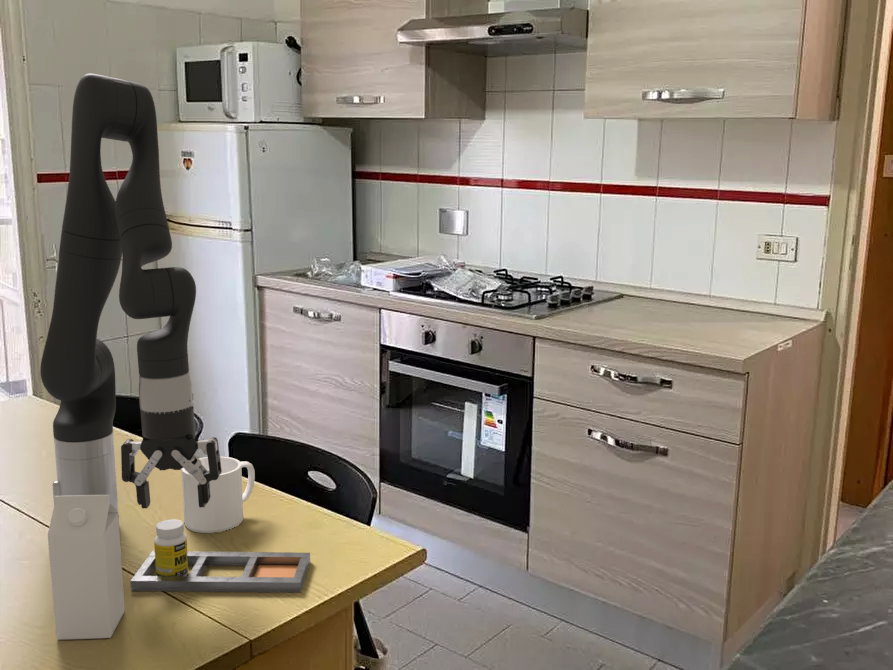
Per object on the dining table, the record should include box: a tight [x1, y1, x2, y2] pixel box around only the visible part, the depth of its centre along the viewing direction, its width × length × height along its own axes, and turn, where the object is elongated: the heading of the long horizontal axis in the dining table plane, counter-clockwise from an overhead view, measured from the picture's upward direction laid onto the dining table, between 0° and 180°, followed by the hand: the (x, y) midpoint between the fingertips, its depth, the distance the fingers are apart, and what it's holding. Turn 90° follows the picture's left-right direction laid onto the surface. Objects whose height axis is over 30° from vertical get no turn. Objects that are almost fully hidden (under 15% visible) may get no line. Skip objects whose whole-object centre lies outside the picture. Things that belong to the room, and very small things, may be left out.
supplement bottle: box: [153, 518, 189, 576], centre depth 137 cm, size 5×5×8 cm
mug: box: [181, 456, 256, 534], centre depth 158 cm, size 13×10×10 cm
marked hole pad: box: [253, 565, 298, 577], centre depth 138 cm, size 6×6×1 cm
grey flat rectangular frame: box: [130, 550, 311, 593], centre depth 138 cm, size 25×10×2 cm, turn 90°
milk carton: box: [47, 495, 126, 641], centre depth 122 cm, size 7×7×19 cm
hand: (174, 506), depth 136 cm, fingers open, 8 cm apart
